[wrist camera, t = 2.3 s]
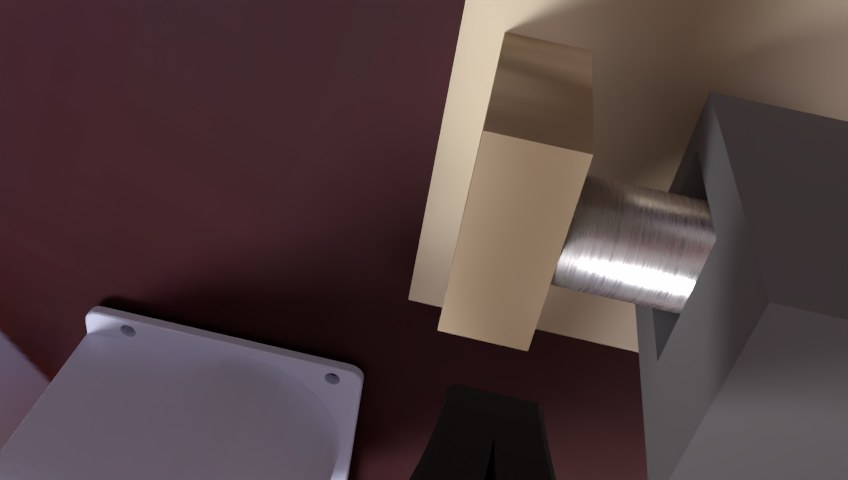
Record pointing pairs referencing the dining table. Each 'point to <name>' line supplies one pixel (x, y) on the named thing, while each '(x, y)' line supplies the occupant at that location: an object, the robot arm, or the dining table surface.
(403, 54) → the dining table surface
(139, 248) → the dining table surface
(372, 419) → the dining table surface
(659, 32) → the pipe stand
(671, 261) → the pipe
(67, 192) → the dining table surface
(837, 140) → the collar
